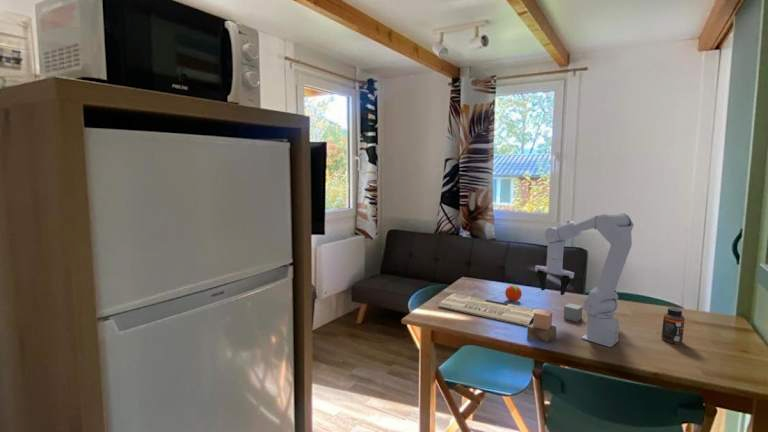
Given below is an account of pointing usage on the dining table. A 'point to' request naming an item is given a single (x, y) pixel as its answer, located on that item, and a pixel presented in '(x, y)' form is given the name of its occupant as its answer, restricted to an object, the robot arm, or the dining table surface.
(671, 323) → the supplement bottle
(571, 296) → the dining table surface
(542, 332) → the walnut block
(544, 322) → the terracotta cube
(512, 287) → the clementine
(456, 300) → the newspaper
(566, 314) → the slate cube
